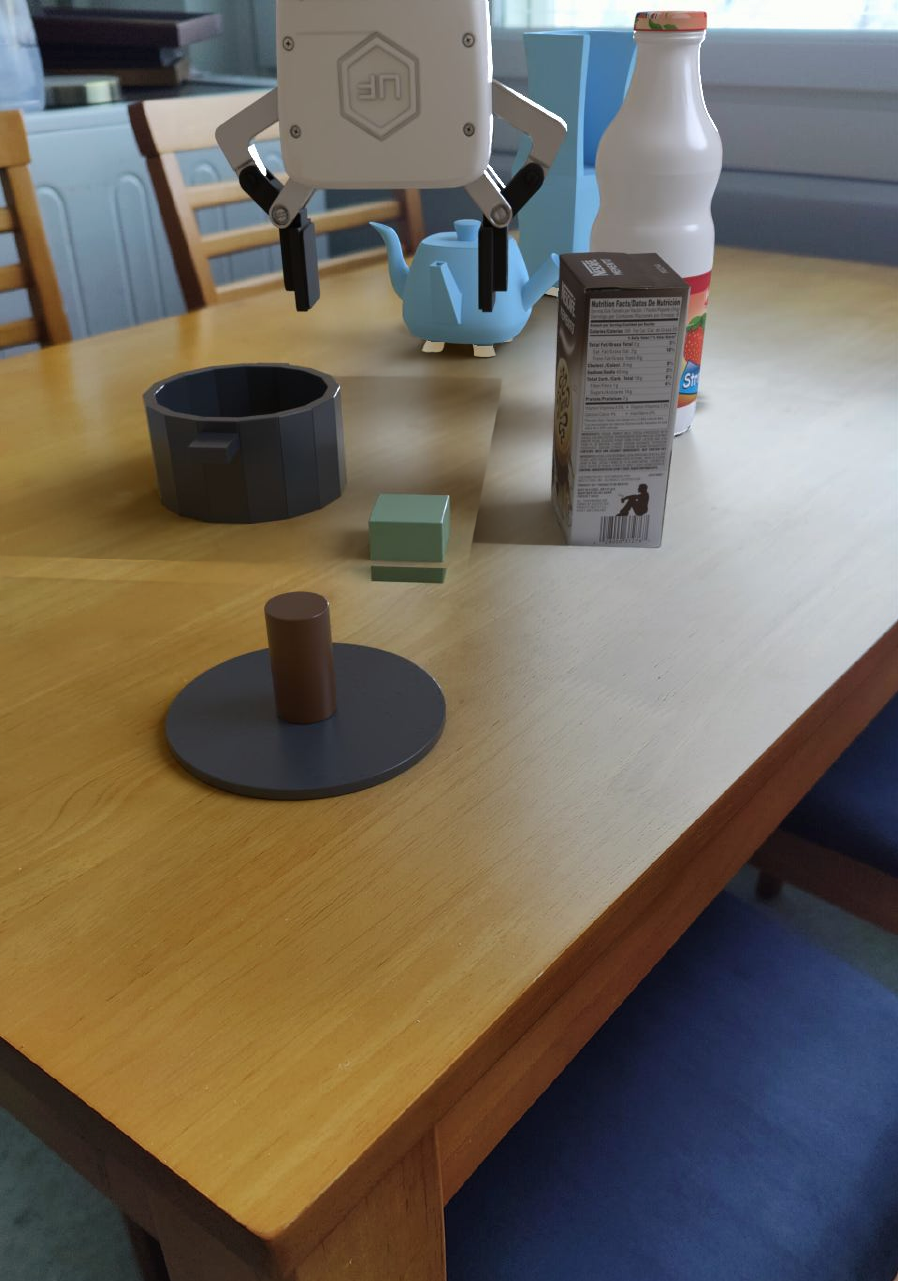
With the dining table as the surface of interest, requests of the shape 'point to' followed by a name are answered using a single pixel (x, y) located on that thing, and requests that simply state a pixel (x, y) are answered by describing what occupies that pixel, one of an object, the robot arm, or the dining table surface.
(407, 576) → the block
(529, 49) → the vase
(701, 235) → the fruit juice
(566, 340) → the coffee box
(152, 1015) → the dining table surface
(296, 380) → the pot
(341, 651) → the lid
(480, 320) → the teapot
